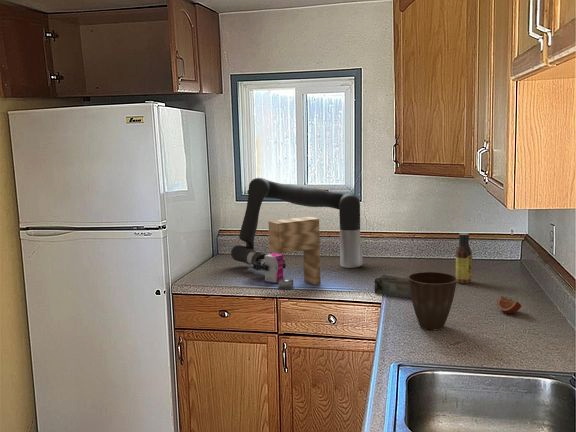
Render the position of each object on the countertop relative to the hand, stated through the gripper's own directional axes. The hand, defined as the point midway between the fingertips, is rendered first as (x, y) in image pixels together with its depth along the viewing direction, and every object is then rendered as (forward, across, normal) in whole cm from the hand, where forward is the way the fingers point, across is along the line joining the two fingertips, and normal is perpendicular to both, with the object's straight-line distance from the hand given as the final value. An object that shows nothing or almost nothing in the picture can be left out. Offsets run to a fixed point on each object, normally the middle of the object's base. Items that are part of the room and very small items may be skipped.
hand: (276, 267), depth 245 cm
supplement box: (-2, 0, +7) cm, 7 cm away
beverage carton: (+43, +31, +7) cm, 53 cm away
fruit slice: (+80, +46, +7) cm, 92 cm away
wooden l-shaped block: (+8, +4, +7) cm, 11 cm away
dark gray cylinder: (+8, 0, +7) cm, 10 cm away
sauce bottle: (+44, +62, +7) cm, 76 cm away
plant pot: (+76, +15, +7) cm, 78 cm away
